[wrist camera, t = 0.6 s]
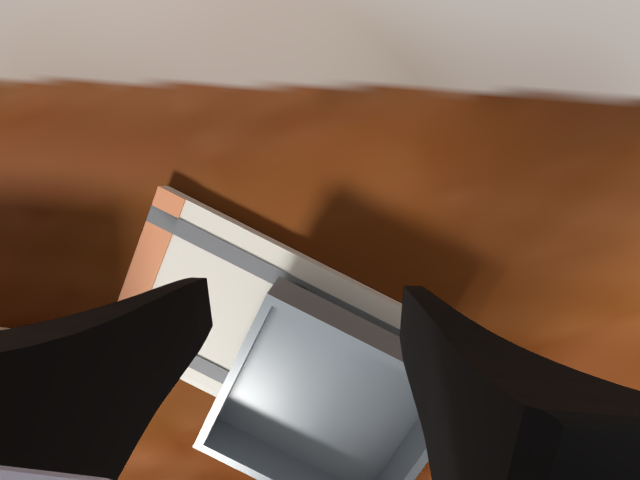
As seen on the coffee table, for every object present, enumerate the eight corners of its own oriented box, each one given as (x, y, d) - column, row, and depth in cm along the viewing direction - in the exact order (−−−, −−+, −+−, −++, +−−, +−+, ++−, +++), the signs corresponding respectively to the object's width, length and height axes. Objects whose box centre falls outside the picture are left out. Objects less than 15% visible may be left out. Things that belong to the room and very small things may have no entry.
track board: (360, 457, 24) (361, 470, 23) (114, 334, 24) (103, 341, 23) (447, 326, 21) (452, 334, 20) (168, 185, 21) (158, 186, 20)
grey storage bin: (367, 465, 22) (372, 537, 18) (224, 393, 22) (192, 447, 18) (446, 348, 20) (474, 397, 15) (285, 267, 20) (266, 293, 15)
